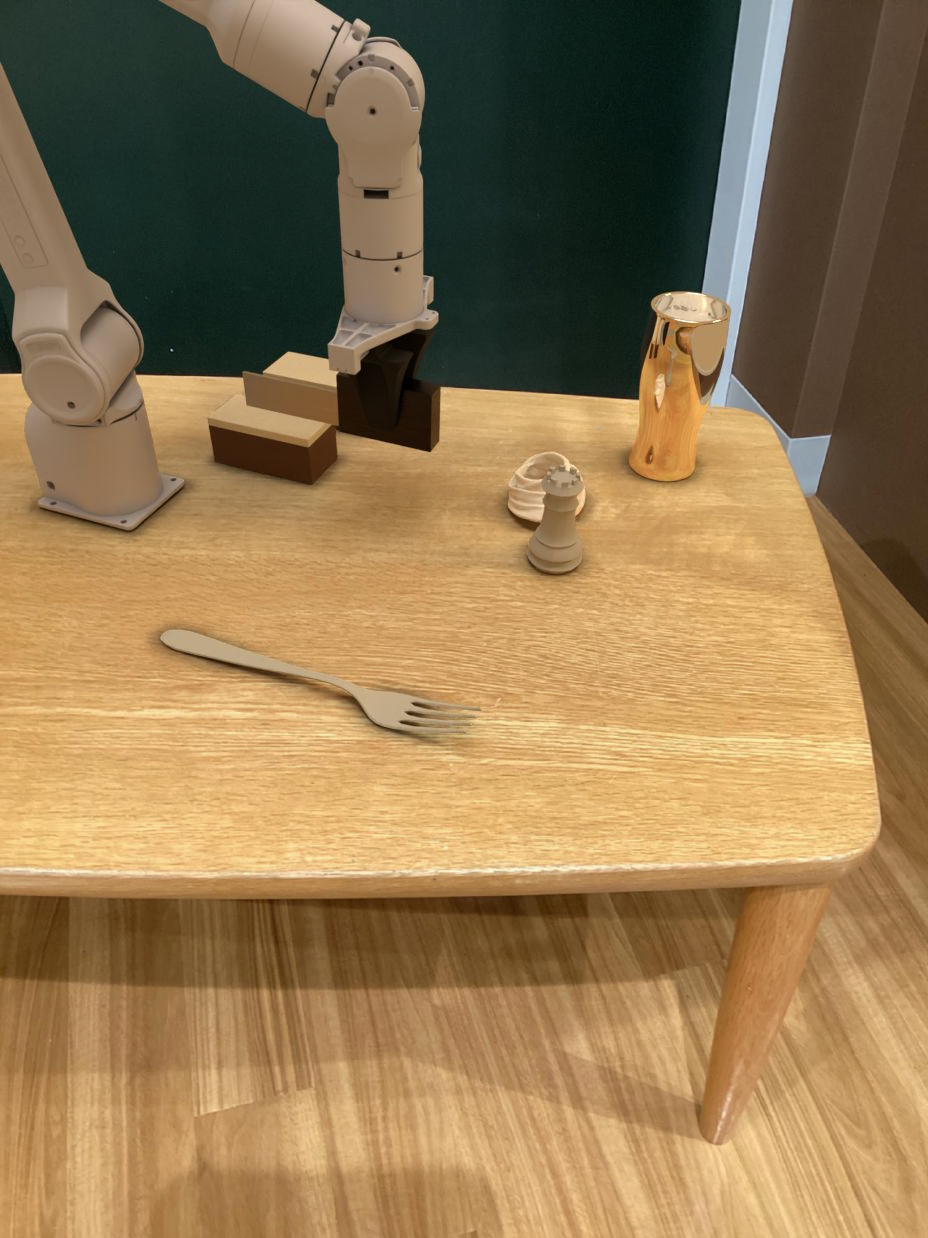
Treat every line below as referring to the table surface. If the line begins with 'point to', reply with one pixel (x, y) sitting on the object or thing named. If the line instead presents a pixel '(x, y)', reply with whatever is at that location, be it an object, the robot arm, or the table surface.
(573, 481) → the rook chess piece
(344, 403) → the two-tone wooden slat
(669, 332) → the copper metal vase
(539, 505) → the white ruffled curved piece
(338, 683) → the fork
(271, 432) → the cake
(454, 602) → the table surface
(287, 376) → the cake slice
